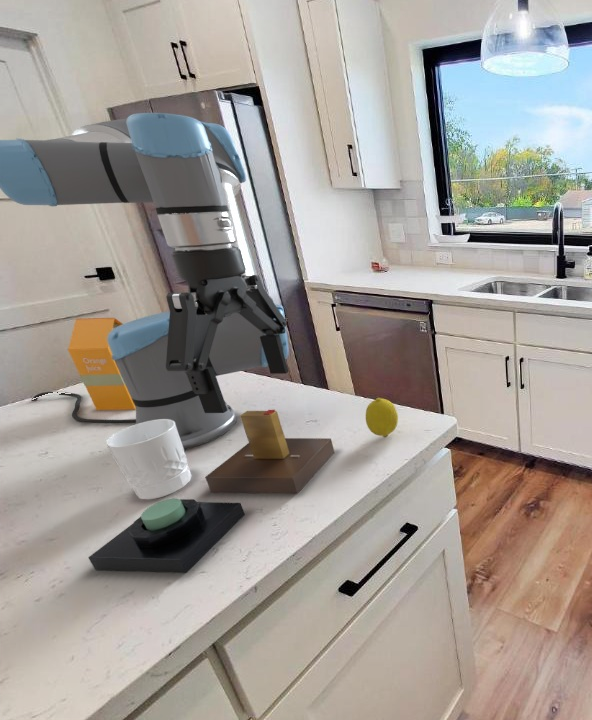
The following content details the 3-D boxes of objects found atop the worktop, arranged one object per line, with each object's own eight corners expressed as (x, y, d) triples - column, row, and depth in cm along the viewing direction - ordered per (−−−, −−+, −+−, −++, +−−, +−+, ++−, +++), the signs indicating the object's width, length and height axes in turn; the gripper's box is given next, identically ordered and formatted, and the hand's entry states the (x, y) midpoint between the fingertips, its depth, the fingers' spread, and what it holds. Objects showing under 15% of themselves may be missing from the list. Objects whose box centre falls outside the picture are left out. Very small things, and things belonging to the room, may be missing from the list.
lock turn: (254, 458, 68) (239, 414, 65) (261, 453, 69) (246, 409, 66) (283, 459, 67) (269, 414, 64) (289, 453, 69) (276, 409, 66)
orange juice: (134, 409, 92) (96, 322, 85) (95, 410, 92) (54, 324, 85) (164, 394, 99) (131, 312, 92) (128, 394, 100) (93, 313, 92)
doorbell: (95, 570, 51) (81, 546, 50) (167, 513, 61) (157, 490, 59) (186, 573, 51) (175, 548, 49) (245, 514, 60) (237, 492, 58)
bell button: (137, 530, 53) (131, 519, 52) (165, 508, 56) (160, 498, 56) (167, 531, 52) (161, 520, 52) (193, 508, 56) (189, 498, 55)
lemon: (391, 445, 75) (383, 406, 73) (363, 443, 77) (355, 404, 74) (406, 429, 80) (399, 392, 78) (380, 427, 82) (373, 390, 79)
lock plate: (211, 492, 65) (204, 476, 63) (259, 452, 75) (254, 437, 74) (297, 494, 64) (292, 477, 63) (334, 452, 74) (330, 437, 73)
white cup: (158, 472, 70) (135, 420, 66) (207, 469, 71) (187, 417, 67) (118, 504, 63) (89, 448, 59) (173, 500, 63) (148, 444, 60)
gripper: (144, 259, 44) (209, 433, 52) (289, 237, 67) (319, 360, 75) (78, 261, 45) (152, 433, 52) (245, 239, 68) (279, 360, 75)
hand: (251, 390), depth 64 cm, fingers open, 13 cm apart
